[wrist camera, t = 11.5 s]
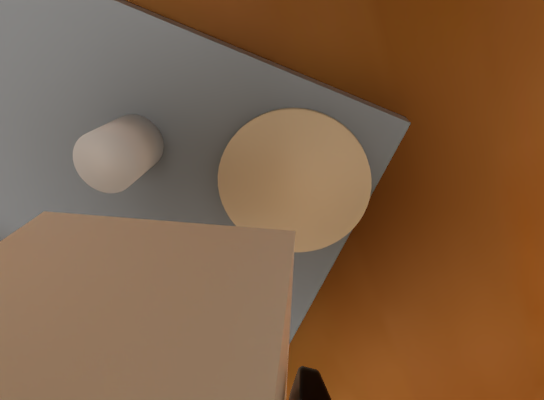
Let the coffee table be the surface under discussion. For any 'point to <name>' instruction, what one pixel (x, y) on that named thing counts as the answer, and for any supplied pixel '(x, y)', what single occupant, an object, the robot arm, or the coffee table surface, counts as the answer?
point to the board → (180, 132)
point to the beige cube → (144, 310)
